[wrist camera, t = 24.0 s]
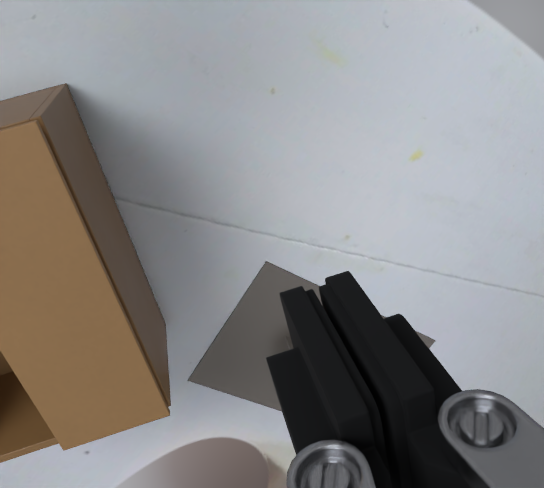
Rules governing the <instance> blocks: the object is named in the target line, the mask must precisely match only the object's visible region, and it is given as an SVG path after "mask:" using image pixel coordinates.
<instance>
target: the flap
mask: <svg viewBox="0 0 544 488" xmlns="http://www.w3.org/2000/svg"><path fill="white" fill-rule="evenodd" d="M0 351H1V353H2V354H3V356H4V357H5V359H6V360H7V362H8V364H9V365H10V367H11V368H12V370H13V372H14V373H15V375H16V376H17V378H18V379H19V381H20V383H21V384H22V386H23V387H24V389H25V390H26V392H27V394H28V395H29V397H30V398H31V400H32V402H33V403H34V405H35V406H36V408H37V409H38V411H39V413H40V414H41V416H42V417H43V419H44V420H45V422H46V424H47V425H48V427H49V428H50V430H51V432H52V433H53V435H54V436H55V438H56V439H57V441H58V443H59V444H60V446H61V447H62V449H63V450H67V449H70V448H73V447H76V446H79V445H82V444H85V443H88V442H91V441H94V440H97V439H100V438H103V437H106V436H109V435H112V434H115V433H118V432H121V431H124V430H127V429H130V428H133V427H136V426H139V425H142V424H145V423H148V422H151V421H154V420H157V419H160V418H164V417H167V416H169V415H170V410H169V408H168V406H167V404H166V401H165V399H164V397H163V395H162V393H161V390H160V388H159V386H158V384H157V382H156V379H155V377H154V375H153V373H152V371H151V368H150V366H149V364H148V362H147V360H146V357H145V355H144V353H143V351H142V349H141V346H140V344H139V342H138V340H137V338H136V335H135V333H134V331H133V329H132V327H131V324H130V322H129V320H128V318H127V316H126V313H125V311H124V309H123V307H122V304H121V302H120V300H119V298H118V296H117V293H116V291H115V289H114V287H113V285H112V282H111V280H110V278H109V276H108V274H107V271H106V269H105V267H104V265H103V263H102V260H101V258H100V256H99V254H98V252H97V249H96V247H95V245H94V243H93V241H92V238H91V236H90V234H89V232H88V230H87V227H86V225H85V223H84V221H83V219H82V216H81V214H80V212H79V210H78V208H77V205H76V203H75V201H74V199H73V197H72V194H71V192H70V190H69V188H68V186H67V183H66V181H65V179H64V177H63V175H62V172H61V170H60V168H59V166H58V164H57V161H56V159H55V157H54V155H53V153H52V150H51V148H50V146H49V144H48V142H47V139H46V137H45V135H44V133H43V131H42V128H41V126H40V124H39V122H38V120H34V121H31V122H27V123H23V124H20V125H16V126H12V127H9V128H5V129H1V130H0Z"/></svg>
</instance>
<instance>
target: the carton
mask: <svg viewBox="0 0 544 488" xmlns="http://www.w3.org/2000/svg"><path fill="white" fill-rule="evenodd" d="M34 120H38V122H39V124H40V126H41V128H42V131H43V133H44V135H45V137H46V139H47V142H48V144H49V146H50V148H51V150H52V153H53V155H54V157H55V159H56V161H57V164H58V166H59V168H60V170H61V172H62V175H63V177H64V179H65V181H66V183H67V186H68V188H69V190H70V192H71V194H72V197H73V199H74V201H75V203H76V205H77V208H78V210H79V212H80V214H81V216H82V219H83V221H84V223H85V225H86V227H87V230H88V232H89V234H90V236H91V238H92V241H93V243H94V245H95V247H96V249H97V252H98V254H99V256H100V258H101V260H102V263H103V265H104V267H105V269H106V271H107V274H108V276H109V278H110V280H111V282H112V285H113V287H114V289H115V291H116V293H117V296H118V298H119V300H120V302H121V304H122V307H123V309H124V311H125V313H126V316H127V318H128V320H129V322H130V324H131V327H132V329H133V331H134V333H135V335H136V338H137V340H138V342H139V344H140V346H141V349H142V351H143V353H144V355H145V357H146V360H147V362H148V364H149V366H150V368H151V371H152V373H153V375H154V377H155V379H156V382H157V384H158V386H159V388H160V390H161V393H162V395H163V397H164V399H165V401H166V404H167V406H171V401H170V385H169V370H168V354H167V339H166V324H165V322H164V319H163V317H162V314H161V312H160V310H159V307H158V305H157V302H156V300H155V297H154V295H153V293H152V290H151V288H150V285H149V283H148V280H147V278H146V276H145V273H144V271H143V268H142V266H141V263H140V261H139V259H138V256H137V254H136V251H135V249H134V246H133V244H132V241H131V239H130V237H129V234H128V232H127V229H126V227H125V224H124V222H123V220H122V217H121V215H120V212H119V210H118V207H117V205H116V203H115V200H114V198H113V195H112V193H111V190H110V188H109V186H108V183H107V181H106V178H105V176H104V173H103V171H102V169H101V166H100V164H99V161H98V159H97V156H96V154H95V152H94V149H93V147H92V144H91V142H90V139H89V137H88V135H87V132H86V130H85V127H84V125H83V122H82V120H81V118H80V115H79V113H78V110H77V108H76V105H75V103H74V101H73V98H72V96H71V93H70V91H69V88H68V86H67V84H66V83H65V84H62V85H58V86H54V87H50V88H47V89H43V90H39V91H36V92H32V93H28V94H25V95H21V96H17V97H13V98H10V99H6V100H2V101H0V130H1V129H5V128H9V127H12V126H16V125H20V124H23V123H27V122H31V121H34ZM55 444H58V441H57V439H56V438H55V436H54V435H53V433H52V432H51V430H50V428H49V427H48V425H47V424H46V422H45V420H44V419H43V417H42V416H41V414H40V413H39V411H38V409H37V408H36V406H35V405H34V403H33V402H32V400H31V398H30V397H29V395H28V394H27V392H26V390H25V389H24V387H23V386H22V384H21V383H20V381H19V379H18V378H17V376H16V375H15V373H14V372H13V370H12V368H11V367H10V365H9V364H8V362H7V360H6V359H5V357H4V356H3V354H2V353H1V351H0V463H1V462H4V461H7V460H10V459H13V458H16V457H19V456H22V455H25V454H28V453H31V452H34V451H37V450H40V449H43V448H46V447H49V446H52V445H55Z"/></svg>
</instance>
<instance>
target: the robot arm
mask: <svg viewBox="0 0 544 488" xmlns="http://www.w3.org/2000/svg"><path fill="white" fill-rule="evenodd" d="M325 282H326V285H323V286H320V287H319V292H320V297H321V302H322V304H321V302H320V301H319V299H318V297H317V295H316V294H315V292H314V290H313V289H310V290H307V291H305V290H304V288H303V286H299V287H296V288H293V289H290V290H287V291H283V292H280V299H281V303H282V307H283V310H284V314H285V318H286V322H287V326H288V329H289V333H290V337H291V341H292V345H293V349H290V350H287V351H284V352H281V353H278V354H275V355H272V356H269V357H266V360H267V364H268V367H269V370H270V374H271V377H272V380H273V384H274V387H275V390H276V393H277V397H278V400H279V403H280V406H281V409H282V412H283V415H284V419H285V422H286V425H287V428H288V431H289V434H290V437H291V440H292V443H293V446H294V449H295V452H296V457H295V458H294V459H293V460H292V462H291V464H290V467H289V469H288V472H287V488H544V428H543V427H541V426H540V425H539V424H538V423H537V422H536V421H534V420H533V419H532V418H531V417H530V416H529V415H527V414H526V413H525V412H524V411H523V410H522V409H520V408H519V407H518V406H517V405H516V404H515V403H513V402H512V401H510V400H509V399H507V398H506V397H504V396H502V395H500V394H497V393H494V392H491V391H485V390H478V389H477V390H465V391H462V390H461V389H460V388H459V386H458V385H457V384H456V383H455V381H454V380H453V379H452V377H451V376H450V375H449V374H448V372H447V371H446V370H445V369H444V367H443V366H442V365H441V363H440V362H439V361H438V360H437V358H436V357H435V356H434V355H433V353H432V352H431V351H430V349H429V348H428V347H427V346H426V344H425V343H424V342H423V341H422V339H421V338H420V337H419V336H418V334H417V333H416V332H415V330H414V329H413V328H412V327H411V325H410V324H409V323H408V322H407V320H406V319H405V318H404V317H403V316H402V315H400V314H396V315H393V316H390V317H387V318H384V319H383V317H382V316H381V315H380V313H379V312H378V310H377V309H376V308H375V306H374V305H373V303H372V302H371V301H370V299H369V298H368V297H367V295H366V294H365V292H364V291H363V290H362V288H361V287H360V285H359V284H358V283H357V281H356V280H355V279H354V277H353V276H352V274H351V273H350V272H349V271H346V272H343V273H340V274H337V275H334V276H330V277H327V278H326V279H325Z"/></svg>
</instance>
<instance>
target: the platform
mask: <svg viewBox="0 0 544 488" xmlns="http://www.w3.org/2000/svg"><path fill="white" fill-rule="evenodd" d="M299 286H303V288H304V290H305V291H307V290H310V289H313V290H314V292H315V294H316V295H317V297H318V299H319V301H320V302H321V297H320V292H319V287H320V286H318V285H316V284H313V283H311V282H309V281H307V280H305V279H303V278H301V277H298V276H296V275H294V274H292V273H290V272H288V271H286V270H284V269H281V268H279V267H277V266H275V265H273V264H271V263H269V262H266V263H265V264H264V266H263V267H262V269H261V270H260V272H259V273H258V275H257V276H256V278H255V279H254V281H253V282H252V284H251V285H250V287H249V288H248V290H247V292H246V293H245V295H244V296H243V298H242V299H241V301H240V302H239V304H238V305H237V307H236V308H235V310H234V311H233V313H232V314H231V316H230V317H229V319H228V320H227V322H226V323H225V325H224V326H223V328H222V329H221V331H220V332H219V334H218V335H217V337H216V339H215V340H214V342H213V343H212V345H211V346H210V348H209V349H208V351H207V352H206V354H205V355H204V357H203V358H202V360H201V361H200V363H199V364H198V366H197V367H196V369H195V370H194V372H193V373H192V375H191V376H190V378H189V379H188V381H191V382H194V383H197V384H200V385H203V386H206V387H209V388H212V389H215V390H218V391H221V392H224V393H227V394H231V395H234V396H237V397H240V398H243V399H246V400H249V401H252V402H255V403H258V404H261V405H264V406H267V407H270V408H273V409H276V410H279V411H282V409H281V406H280V403H279V400H278V397H277V393H276V390H275V387H274V384H273V380H272V377H271V374H270V370H269V367H268V364H267V360H266V357H269V356H272V355H275V354H278V353H281V352H284V351H287V350H290V349H293V345H292V341H291V337H290V333H289V329H288V326H287V322H286V318H285V314H284V310H283V307H282V303H281V299H280V292H283V291H287V290H290V289H293V288H296V287H299ZM321 304H322V302H321ZM381 316H382V315H381ZM382 317H383V319H384V318H386V317H384V316H382ZM415 332H416V331H415ZM416 333H417V334H418V336H419V337H420V338H421V339H422V341H423V342H424V343H425V344H426V346H427V347H428V348H430V346H431V345H432V344H433V343H434V341H435V340H433V339H431V338H429V337H427V336H425V335H422V334H420V333H418V332H416Z"/></svg>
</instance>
